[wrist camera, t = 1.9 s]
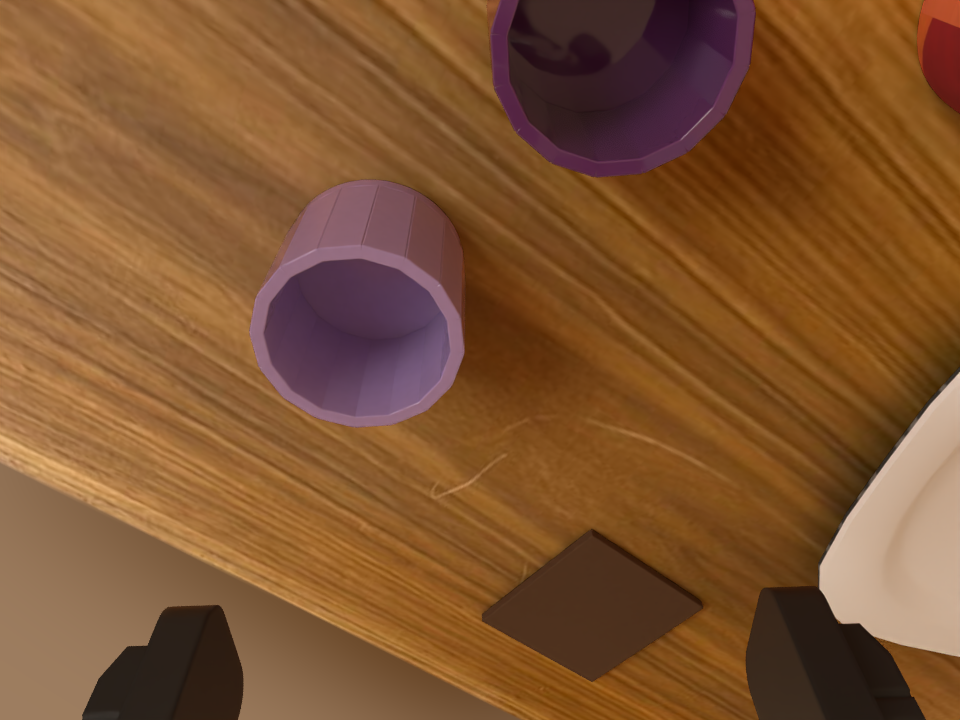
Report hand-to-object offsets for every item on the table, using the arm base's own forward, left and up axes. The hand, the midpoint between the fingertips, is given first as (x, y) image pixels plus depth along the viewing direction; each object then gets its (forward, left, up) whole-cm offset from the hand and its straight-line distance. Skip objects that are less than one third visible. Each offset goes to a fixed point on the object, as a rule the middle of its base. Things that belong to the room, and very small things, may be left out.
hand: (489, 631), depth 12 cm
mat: (+16, -11, -15) cm, 25 cm away
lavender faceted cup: (-2, -3, -15) cm, 16 cm away
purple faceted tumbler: (-2, +7, -15) cm, 17 cm away
